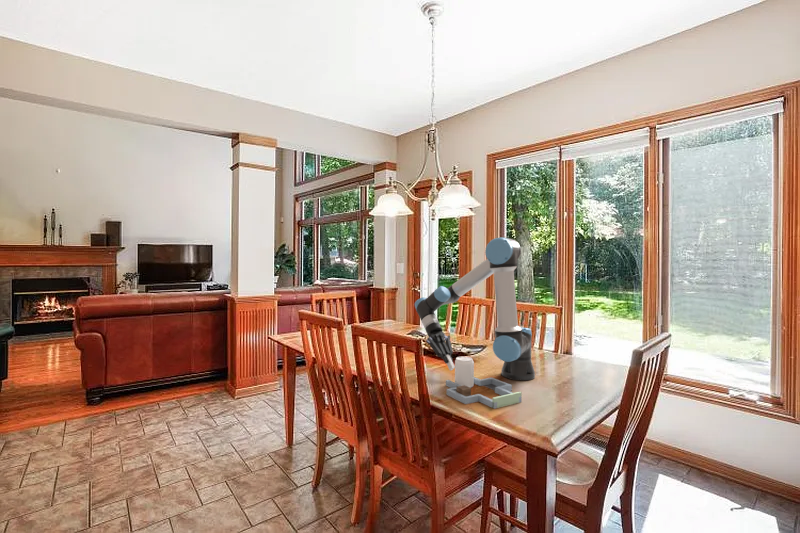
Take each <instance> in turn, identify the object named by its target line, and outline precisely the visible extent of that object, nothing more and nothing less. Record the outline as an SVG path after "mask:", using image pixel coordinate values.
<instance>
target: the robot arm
mask: <svg viewBox="0 0 800 533" xmlns="http://www.w3.org/2000/svg"><path fill="white" fill-rule="evenodd" d="M484 253H485V254H484V255H485V257H486V259H484V261H482V262H481V263H479V264H478V265H476V266H475V267H474V268H473V269H471V270H470V271H469V272H467V273H466V274H465V275H463V276H462V277H460V278H459V279H458V280H457V281H455V282H454V283H452V284H451V285H450V286H448V287H445V286H444V285H440V286H438V287H437V288H435V289H434V291H433V292H431V293H430V295H428V296H427V297H420V298H419V299H417V300H416V301H415V302H414V308H415V310H416V313H417V315H418V316H419V319H420V321H421V323H422V325H423V328H424V330H425V333H426V335H427V336H428V337H427V338H426V341H425V343H427V344H428V345H429V346H430V348H431V349H432V350H433V352H434V353H435V355H436V356H437V357H438V358H440V359H443V362H444V363H445V364H446V366H447V368H448V370H449V371H453V370H455V363H454V360H453V357H452V354H453V353H454V350H453V347H452V343H451V336H450V335H446V334H445V333H444V332H443V328H442V326H441V324H440V322H439V320H438V317H437V316H436V313H435V312H436V311H437V310H438V309H439V308H441V306H444V305H445V306H446V305H448V304H453V303H456V302H458V301H459V299H460V298H461V297H462V296H464V295H465V294H467V293H468V292H469V291H471V290H472V289H474V288H475V287H477V286H478V285H480V284H481V283H483V282H484V281H485V280H486V279H488V278H489V277H491V276H492V275H493V279H494V280H493V281H494V290H495V291H494V292H495V294H494V295H495V304H496V315H497V317H496V318H497V327H496V328H495V329H494V337H495V339H494V341H493V343H492V350H493V351H492V352H493V353H494V355H495V356H496V357H497V358H498V359H499V360H500V361H502V362H503V365H502V367H501V374H500V375H501V376H502V377H504V378H507V379H510V380H515V381H531V380H534V379H535V378H536V371H535V368H534V365H533V362H532V336H533V334H532V329H531V328H528V327H521V326H520V325H519V323H518V308H517V298H516V297H517V296H516V295H517V294H516V285H515V272H514V271H515V270H516V269H517V267H518V263H517V261H518V260H519V258H520V257H521V254H522V248H521V246H520V243H519V242H518V241H517V240H515V239H513V238H508V237H502V236H501V237H496V238H492V239H491V240H490V241H489V242H488V243H487V244H486V247H485V252H484Z"/></svg>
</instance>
